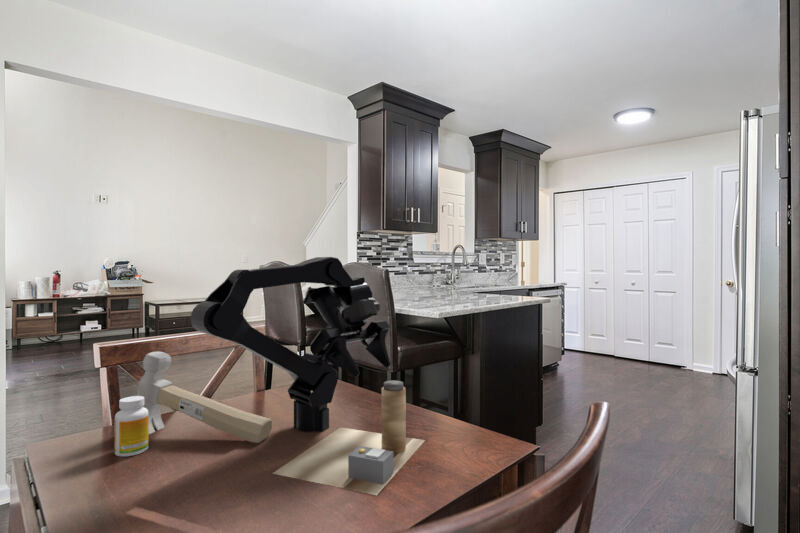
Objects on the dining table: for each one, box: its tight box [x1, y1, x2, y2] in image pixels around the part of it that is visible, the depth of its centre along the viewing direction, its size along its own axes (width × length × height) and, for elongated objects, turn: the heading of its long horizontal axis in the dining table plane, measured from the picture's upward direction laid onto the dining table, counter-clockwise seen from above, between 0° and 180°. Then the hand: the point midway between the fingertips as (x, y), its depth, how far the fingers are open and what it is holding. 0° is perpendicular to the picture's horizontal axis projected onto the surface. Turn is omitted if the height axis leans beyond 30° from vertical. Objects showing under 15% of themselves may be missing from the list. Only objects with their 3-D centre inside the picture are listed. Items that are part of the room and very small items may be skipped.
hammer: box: [135, 350, 273, 444], centre depth 89 cm, size 16×5×30 cm
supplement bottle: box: [114, 395, 150, 457], centre depth 81 cm, size 5×5×10 cm
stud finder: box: [348, 446, 393, 484], centre depth 70 cm, size 6×4×4 cm, turn 68°
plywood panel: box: [272, 426, 426, 496], centre depth 77 cm, size 18×22×1 cm
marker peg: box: [381, 380, 407, 454], centre depth 80 cm, size 4×4×12 cm
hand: (374, 370), depth 87 cm, fingers open, 9 cm apart
